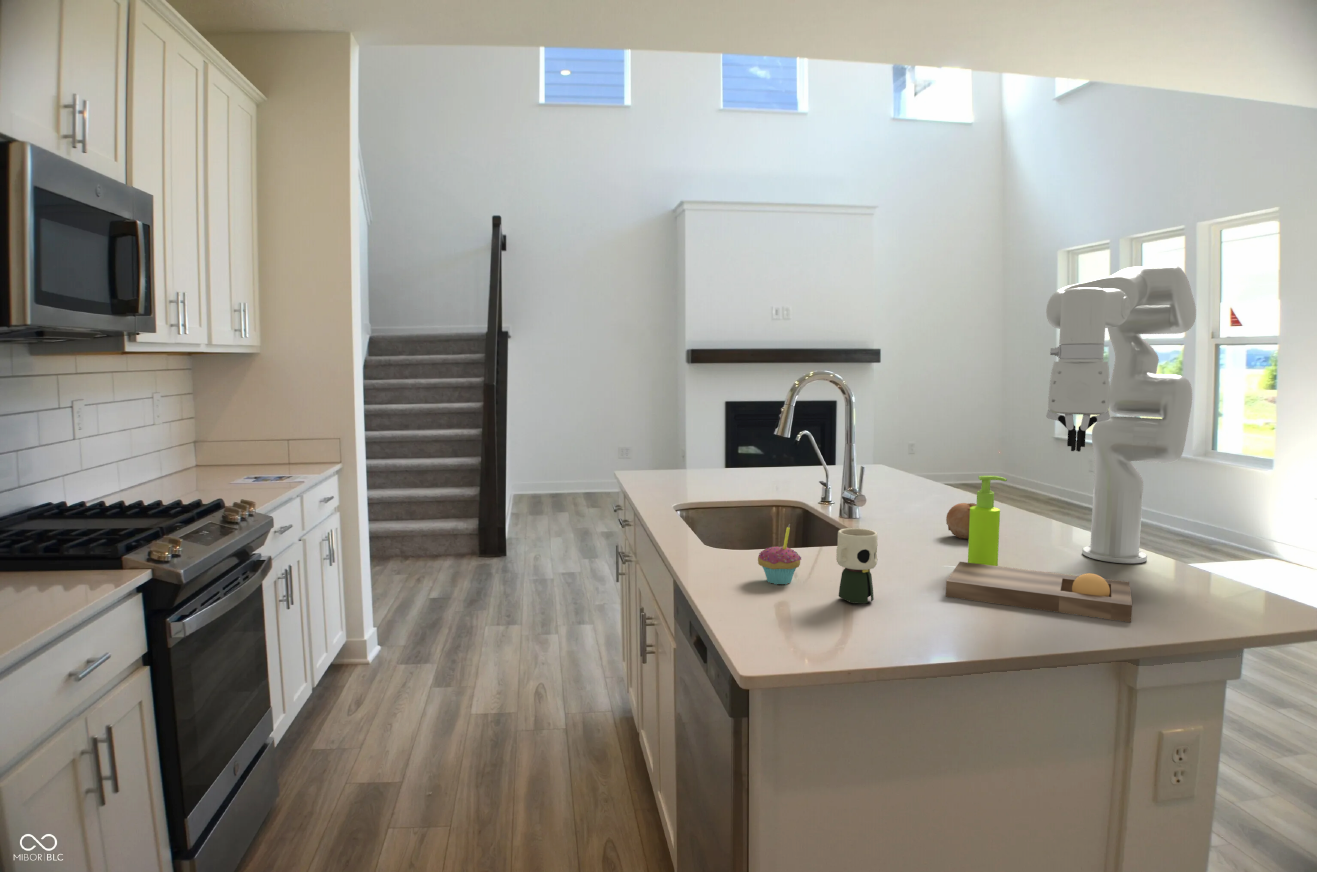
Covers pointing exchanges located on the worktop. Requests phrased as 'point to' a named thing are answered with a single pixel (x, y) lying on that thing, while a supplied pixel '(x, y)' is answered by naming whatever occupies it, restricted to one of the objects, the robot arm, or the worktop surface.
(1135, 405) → the robot arm
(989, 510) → the soap dispenser
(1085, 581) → the ball
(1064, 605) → the board
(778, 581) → the cupcake
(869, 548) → the character mug
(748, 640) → the worktop surface
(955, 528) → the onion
